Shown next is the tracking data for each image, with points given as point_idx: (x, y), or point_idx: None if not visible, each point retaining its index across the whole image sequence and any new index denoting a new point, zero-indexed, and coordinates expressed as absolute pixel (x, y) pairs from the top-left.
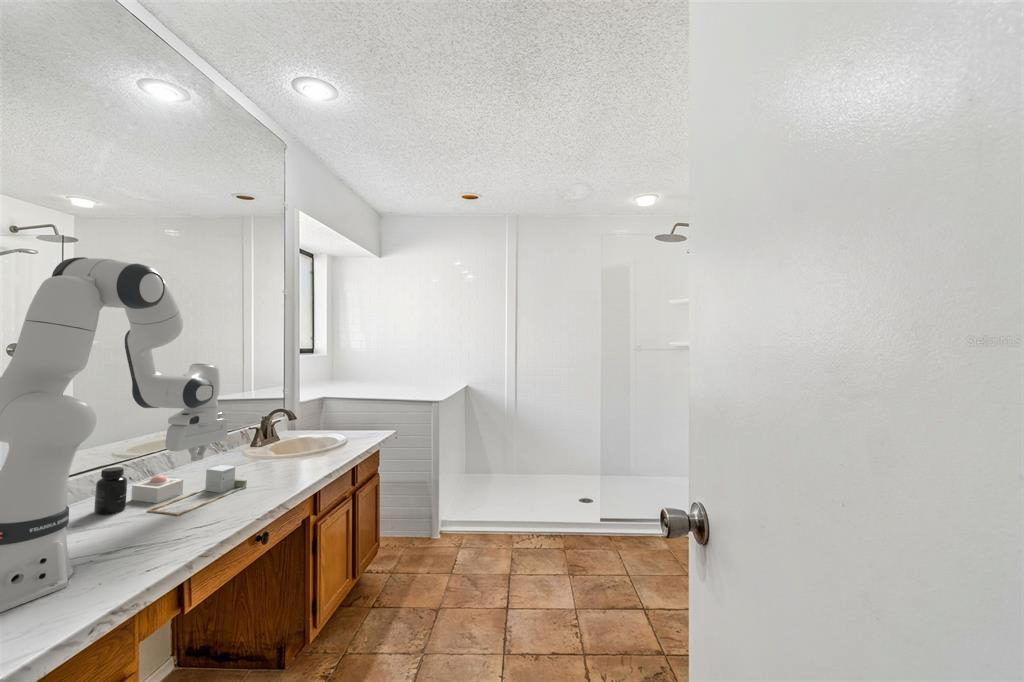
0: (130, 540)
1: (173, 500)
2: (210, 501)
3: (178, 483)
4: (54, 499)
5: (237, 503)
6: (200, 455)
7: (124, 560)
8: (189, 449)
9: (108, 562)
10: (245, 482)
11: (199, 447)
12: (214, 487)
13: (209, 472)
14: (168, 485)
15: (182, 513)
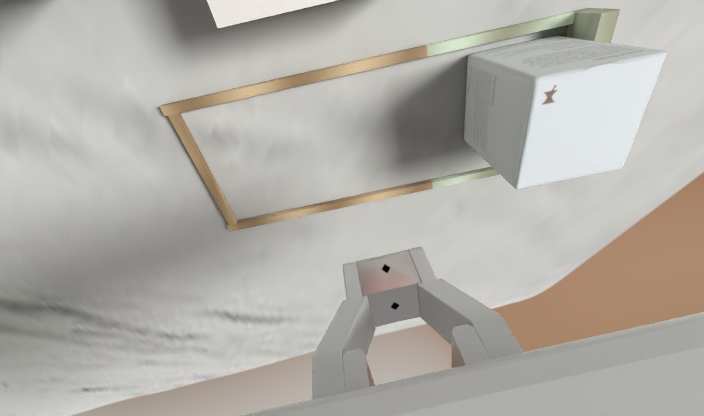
0: (69, 282)
1: (296, 76)
2: (365, 202)
3: None
4: None
5: None
6: (400, 313)
7: (48, 348)
8: (315, 375)
9: (16, 339)
10: None
11: (453, 341)
12: (473, 117)
13: (518, 102)
14: (298, 9)
15: (246, 226)
